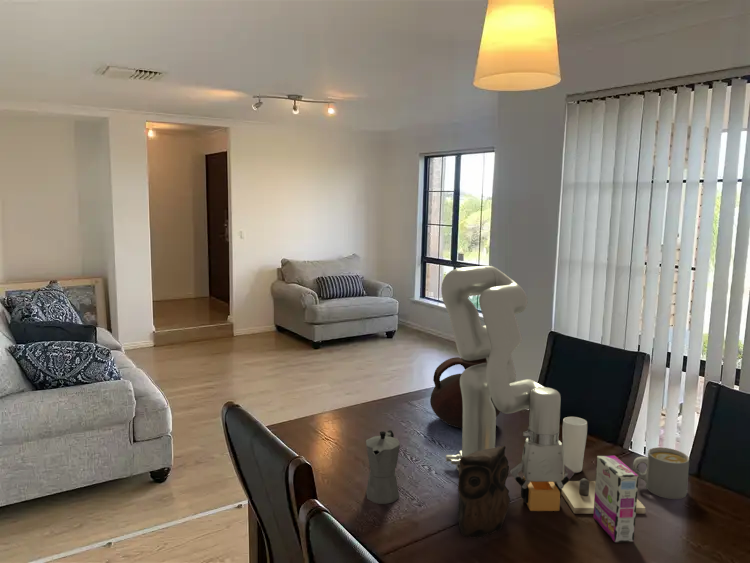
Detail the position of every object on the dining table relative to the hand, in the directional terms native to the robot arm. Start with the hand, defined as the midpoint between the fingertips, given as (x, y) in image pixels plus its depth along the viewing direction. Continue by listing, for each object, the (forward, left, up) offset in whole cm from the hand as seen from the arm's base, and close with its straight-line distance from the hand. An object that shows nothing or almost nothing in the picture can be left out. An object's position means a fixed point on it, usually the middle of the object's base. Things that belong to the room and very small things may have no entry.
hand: (540, 500), depth 148 cm
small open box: (0, 0, -1) cm, 1 cm away
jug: (-11, +55, -1) cm, 56 cm away
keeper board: (+16, +2, -1) cm, 16 cm away
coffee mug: (+35, +8, -1) cm, 36 cm away
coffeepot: (-41, +5, -1) cm, 41 cm away
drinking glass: (+15, +19, -1) cm, 24 cm away
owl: (-18, -9, -1) cm, 20 cm away
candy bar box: (+14, -12, -1) cm, 18 cm away
